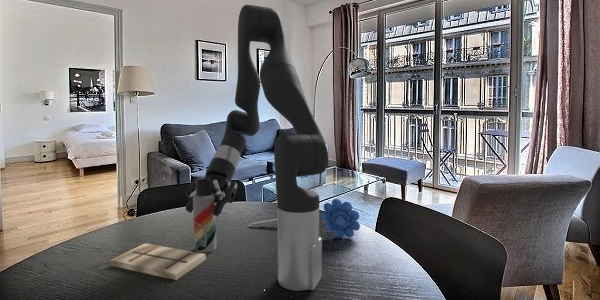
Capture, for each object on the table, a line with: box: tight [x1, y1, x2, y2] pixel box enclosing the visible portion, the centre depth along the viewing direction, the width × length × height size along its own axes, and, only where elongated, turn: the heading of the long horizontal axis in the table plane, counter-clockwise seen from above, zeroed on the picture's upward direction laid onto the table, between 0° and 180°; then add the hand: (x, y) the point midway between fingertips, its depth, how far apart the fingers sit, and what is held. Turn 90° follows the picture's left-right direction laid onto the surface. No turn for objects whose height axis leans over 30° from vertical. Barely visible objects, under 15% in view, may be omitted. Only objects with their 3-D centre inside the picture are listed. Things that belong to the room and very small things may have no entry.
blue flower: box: [320, 198, 361, 239], centre depth 100 cm, size 12×7×12 cm, turn 83°
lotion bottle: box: [192, 178, 217, 254], centre depth 92 cm, size 6×6×20 cm
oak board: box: [110, 242, 207, 281], centre depth 85 cm, size 20×11×2 cm, turn 70°
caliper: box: [247, 218, 278, 228], centre depth 110 cm, size 20×1×6 cm, turn 89°
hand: (201, 213), depth 91 cm, fingers open, 8 cm apart
